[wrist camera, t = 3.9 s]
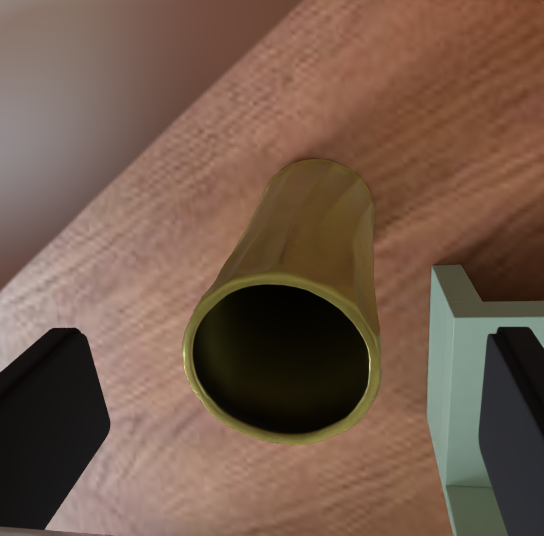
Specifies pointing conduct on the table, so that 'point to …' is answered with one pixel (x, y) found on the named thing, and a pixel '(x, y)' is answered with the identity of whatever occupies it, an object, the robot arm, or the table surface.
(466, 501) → the shelf
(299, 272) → the vase
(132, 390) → the table surface
